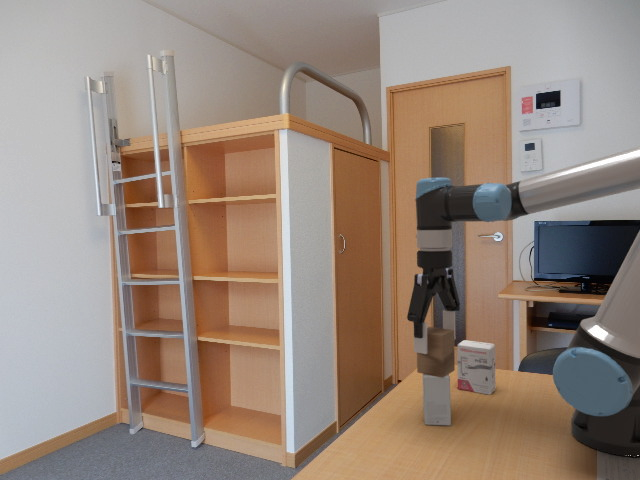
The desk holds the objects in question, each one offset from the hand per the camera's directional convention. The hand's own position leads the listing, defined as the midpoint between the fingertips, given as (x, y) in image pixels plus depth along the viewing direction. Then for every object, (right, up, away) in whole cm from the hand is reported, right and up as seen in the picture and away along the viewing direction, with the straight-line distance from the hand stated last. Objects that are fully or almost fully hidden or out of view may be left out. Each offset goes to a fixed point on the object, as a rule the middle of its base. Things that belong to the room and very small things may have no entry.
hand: (435, 345), depth 104 cm
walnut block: (0, -6, 0) cm, 6 cm away
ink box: (+15, -15, +17) cm, 27 cm away
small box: (0, -16, +1) cm, 16 cm away
